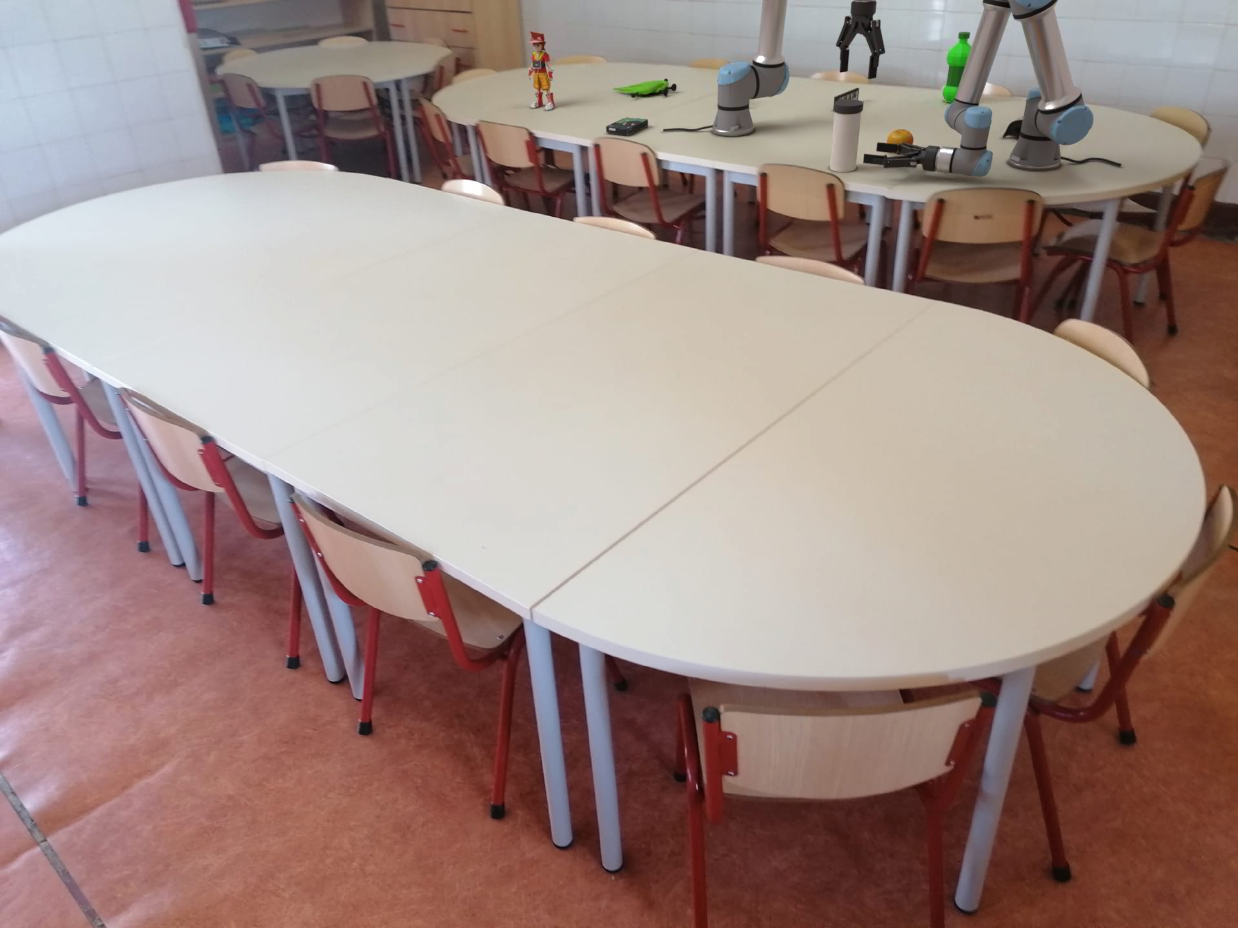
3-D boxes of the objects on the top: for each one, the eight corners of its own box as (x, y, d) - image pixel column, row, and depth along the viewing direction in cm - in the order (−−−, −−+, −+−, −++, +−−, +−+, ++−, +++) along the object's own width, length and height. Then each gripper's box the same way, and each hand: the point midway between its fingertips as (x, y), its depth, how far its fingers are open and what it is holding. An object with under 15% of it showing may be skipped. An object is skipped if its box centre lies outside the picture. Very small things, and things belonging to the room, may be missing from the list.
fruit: (881, 143, 301) (896, 121, 298) (883, 146, 309) (897, 125, 306) (901, 157, 300) (917, 135, 297) (903, 159, 308) (918, 138, 305)
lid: (835, 106, 288) (836, 99, 287) (864, 107, 285) (865, 99, 284) (831, 113, 281) (831, 105, 280) (860, 114, 278) (861, 106, 277)
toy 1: (525, 109, 381) (517, 32, 364) (534, 104, 388) (527, 28, 371) (550, 110, 377) (543, 32, 360) (559, 105, 384) (553, 28, 367)
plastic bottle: (973, 101, 354) (984, 32, 339) (955, 106, 349) (966, 36, 335) (952, 97, 361) (962, 29, 346) (934, 102, 356) (944, 33, 342)
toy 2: (686, 85, 398) (631, 84, 414) (685, 72, 395) (629, 72, 411) (651, 104, 381) (596, 103, 397) (650, 92, 378) (594, 91, 394)
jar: (832, 163, 298) (837, 100, 286) (857, 165, 295) (863, 101, 284) (828, 171, 292) (833, 107, 280) (853, 172, 289) (859, 108, 278)
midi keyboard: (835, 110, 353) (837, 97, 350) (833, 110, 354) (834, 97, 351) (858, 101, 363) (859, 88, 361) (855, 101, 364) (856, 88, 361)
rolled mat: (1032, 109, 328) (1056, 91, 320) (1046, 130, 329) (1070, 113, 320) (998, 131, 311) (1023, 113, 303) (1012, 153, 311) (1038, 136, 303)
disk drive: (628, 136, 338) (648, 126, 348) (628, 129, 337) (648, 118, 347) (605, 134, 343) (625, 123, 353) (605, 126, 341) (625, 116, 351)
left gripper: (828, -2, 279) (823, 71, 291) (882, 5, 260) (874, 83, 272) (847, -5, 282) (841, 67, 294) (902, 2, 263) (894, 79, 275)
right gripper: (925, 183, 270) (856, 175, 279) (946, 160, 287) (880, 154, 297) (929, 158, 266) (859, 151, 275) (950, 136, 283) (883, 130, 292)
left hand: (857, 75), depth 283 cm, fingers open, 13 cm apart
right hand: (870, 152), depth 286 cm, fingers open, 13 cm apart
